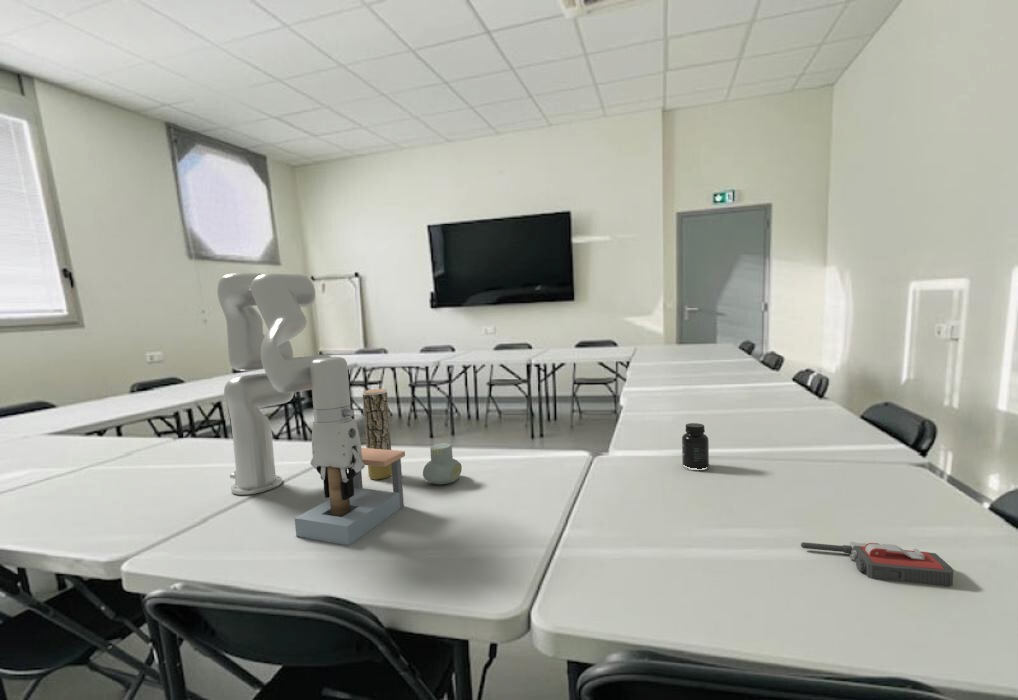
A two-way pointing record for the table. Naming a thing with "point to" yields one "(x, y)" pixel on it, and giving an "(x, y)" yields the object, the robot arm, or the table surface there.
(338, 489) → the peg
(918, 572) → the walkie-talkie
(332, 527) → the socket deck
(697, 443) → the supplement bottle
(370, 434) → the bark textured cylinder
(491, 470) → the table surface
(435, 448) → the air freshener
